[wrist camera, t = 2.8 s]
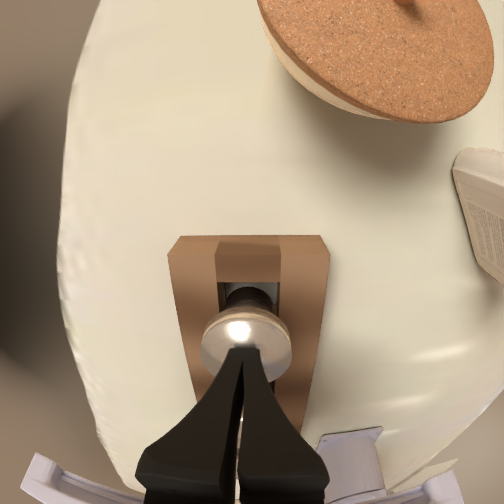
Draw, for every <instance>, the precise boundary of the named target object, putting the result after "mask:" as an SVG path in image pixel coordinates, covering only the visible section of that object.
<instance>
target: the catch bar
mask: <svg viewBox="0 0 504 504" xmlns="http://www.w3.org/2000/svg"><path fill="white" fill-rule="evenodd" d="M167 256H168V263H169V269H170V276H171V282H172V288H173V294H174V299H175V305H176V310H177V316H178V321H179V326H180V331H181V336H182V341H183V345H184V350H185V354H186V359H187V363H188V367H189V372H190V376H191V380H192V384H193V388H194V392H195V396H196V400H197V403H198V402H199V400H200V399H201V398H202V396H203V395H204V394H205V392H206V391H207V389H208V388H209V386H210V385H211V383H212V382H213V380H214V379H215V376H213V375H212V374H211V373H210V372H209V371H208V370H207V369H206V368H205V367H204V365H203V363H202V361H201V358H200V346H201V342H202V338H203V335H204V331H205V328H206V326H207V324H208V322H209V321H210V320H211V319H212V318H213V317H214V316H215V315H217V314H218V313H220V312H222V311H224V310H225V305H226V297H225V283H224V282H277V300H276V305H272V307H273V314H274V315H276V316H277V317H278V318H279V319H281V320H282V321H283V323H284V324H285V325H286V327H287V329H288V331H289V335H290V342H291V351H292V359H291V363H290V366H289V367H288V369H287V370H286V371H285V373H284V374H282V375H281V376H280V377H279V378H277V379H275V380H274V381H272V382H269V385H270V387H271V389H272V391H273V393H274V395H275V397H276V399H277V401H278V403H279V405H280V407H281V408H282V410H283V412H284V413H285V415H286V416H287V418H288V419H289V421H290V422H291V424H292V425H293V426H294V427H295V429H296V430H297V431H298V433H299V434H300V431H301V427H302V422H303V418H304V414H305V409H306V405H307V400H308V395H309V391H310V386H311V381H312V375H313V370H314V365H315V359H316V354H317V348H318V342H319V336H320V330H321V323H322V316H323V309H324V302H325V295H326V287H327V279H328V270H329V261H330V253H329V251H328V249H327V247H326V246H325V244H324V242H323V240H322V238H321V236H320V235H220V236H180V238H179V239H178V241H177V242H176V243H175V245H174V246H173V247H172V249H171V250H170V252H169V253H168V254H167Z"/></svg>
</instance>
